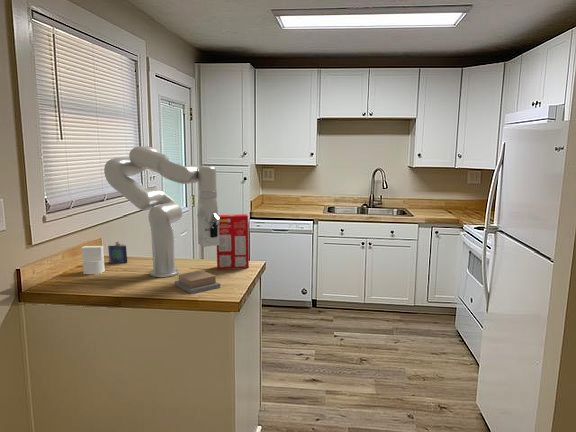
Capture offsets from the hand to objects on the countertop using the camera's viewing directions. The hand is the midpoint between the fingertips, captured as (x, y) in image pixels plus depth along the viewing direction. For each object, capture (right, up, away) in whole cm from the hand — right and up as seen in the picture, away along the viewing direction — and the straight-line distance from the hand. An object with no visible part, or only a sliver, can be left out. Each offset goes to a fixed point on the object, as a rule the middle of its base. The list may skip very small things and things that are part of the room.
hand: (208, 235), depth 191 cm
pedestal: (-3, -20, -9) cm, 23 cm away
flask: (-50, -15, +29) cm, 60 cm away
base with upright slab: (-55, -18, +12) cm, 59 cm away
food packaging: (+8, -16, +20) cm, 27 cm away
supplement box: (0, -4, +1) cm, 4 cm away
